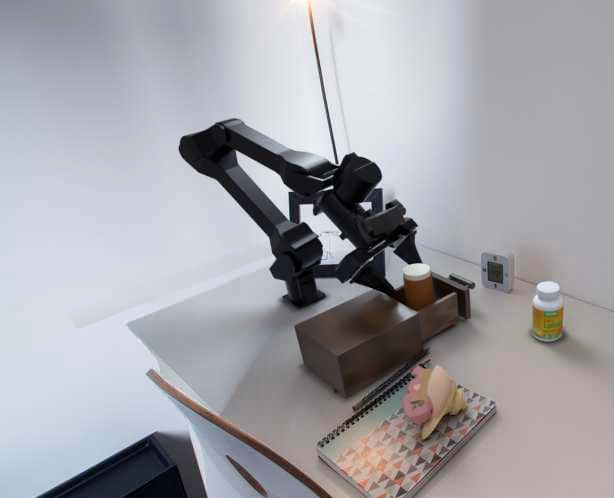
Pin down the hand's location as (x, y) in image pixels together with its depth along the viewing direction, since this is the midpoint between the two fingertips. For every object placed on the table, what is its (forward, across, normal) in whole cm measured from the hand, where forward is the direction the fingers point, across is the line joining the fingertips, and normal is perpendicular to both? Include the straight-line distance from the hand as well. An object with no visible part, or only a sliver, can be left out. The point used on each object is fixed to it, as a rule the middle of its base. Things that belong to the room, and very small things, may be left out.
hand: (410, 283), depth 94 cm
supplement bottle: (+23, +6, -10) cm, 26 cm away
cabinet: (+4, -12, +8) cm, 15 cm away
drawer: (+7, +2, +4) cm, 8 cm away
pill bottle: (+6, 0, +4) cm, 7 cm away
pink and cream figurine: (+18, -20, -5) cm, 27 cm away
